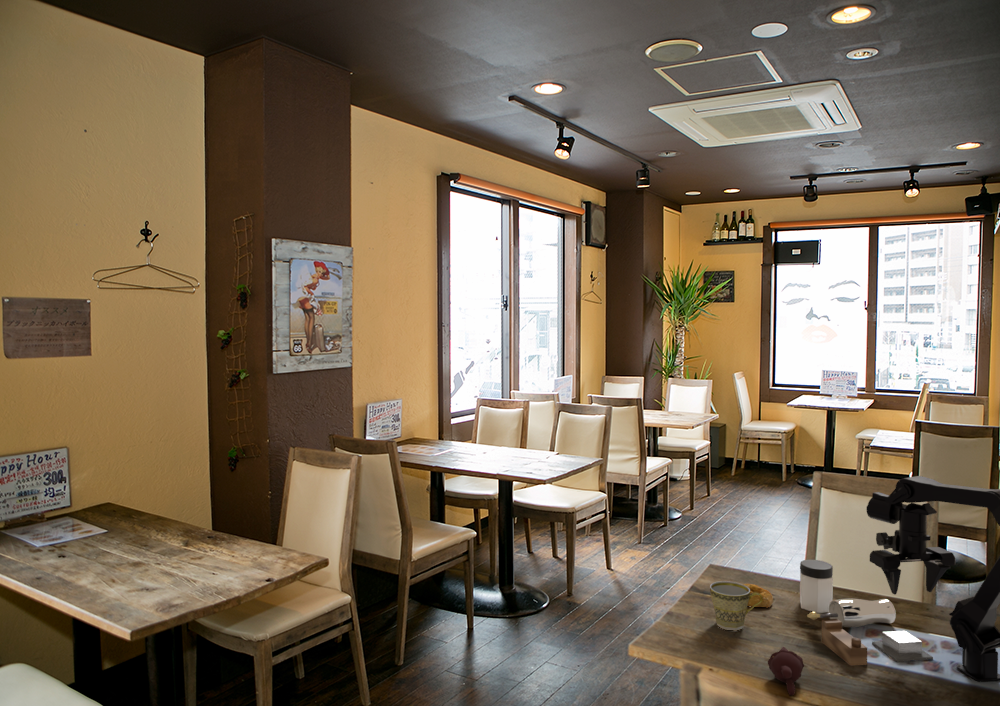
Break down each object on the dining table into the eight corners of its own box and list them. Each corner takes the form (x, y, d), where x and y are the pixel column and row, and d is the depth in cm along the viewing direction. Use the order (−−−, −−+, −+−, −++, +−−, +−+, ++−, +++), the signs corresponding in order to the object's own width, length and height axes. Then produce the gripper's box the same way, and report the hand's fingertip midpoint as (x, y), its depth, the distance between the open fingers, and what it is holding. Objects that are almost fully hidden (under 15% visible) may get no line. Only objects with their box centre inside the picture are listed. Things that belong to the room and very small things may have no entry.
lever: (838, 619, 173) (837, 610, 173) (822, 620, 172) (820, 611, 173) (820, 619, 181) (818, 611, 182) (804, 620, 181) (802, 611, 181)
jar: (798, 599, 200) (799, 557, 199) (830, 602, 197) (830, 560, 196) (800, 611, 191) (801, 568, 191) (833, 615, 188) (834, 571, 188)
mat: (932, 659, 164) (932, 656, 164) (896, 661, 163) (896, 659, 163) (906, 641, 173) (906, 639, 173) (872, 644, 172) (872, 641, 172)
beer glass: (900, 610, 179) (848, 613, 177) (891, 631, 182) (839, 634, 180) (883, 591, 186) (832, 593, 183) (874, 610, 188) (824, 613, 186)
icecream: (762, 635, 163) (766, 671, 149) (796, 631, 161) (803, 667, 147) (770, 663, 163) (774, 702, 149) (804, 660, 161) (811, 699, 147)
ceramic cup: (710, 632, 179) (710, 593, 179) (708, 616, 189) (708, 579, 188) (764, 637, 176) (764, 598, 175) (759, 620, 186) (760, 583, 185)
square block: (922, 654, 165) (922, 641, 165) (898, 655, 164) (898, 643, 164) (904, 642, 171) (904, 630, 171) (882, 644, 170) (882, 631, 170)
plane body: (867, 664, 162) (867, 640, 161) (850, 665, 161) (850, 641, 161) (837, 641, 173) (837, 618, 173) (821, 642, 173) (821, 619, 173)
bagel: (762, 613, 191) (762, 595, 191) (725, 601, 199) (725, 585, 199) (780, 603, 197) (780, 586, 197) (743, 593, 206) (743, 576, 205)
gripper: (923, 517, 179) (922, 578, 179) (855, 521, 176) (854, 582, 177) (957, 530, 168) (956, 595, 168) (885, 534, 165) (884, 600, 166)
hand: (911, 592), depth 170 cm, fingers open, 9 cm apart
